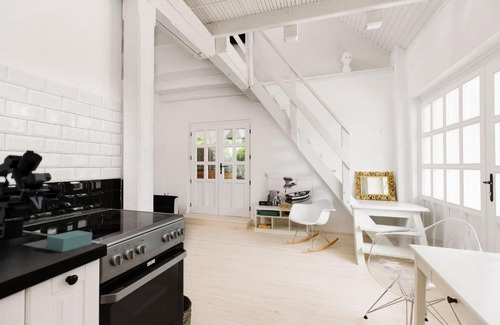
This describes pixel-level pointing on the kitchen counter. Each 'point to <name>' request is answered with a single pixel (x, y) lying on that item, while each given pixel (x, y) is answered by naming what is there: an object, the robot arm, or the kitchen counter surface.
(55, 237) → the teal block
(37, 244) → the slate mat
